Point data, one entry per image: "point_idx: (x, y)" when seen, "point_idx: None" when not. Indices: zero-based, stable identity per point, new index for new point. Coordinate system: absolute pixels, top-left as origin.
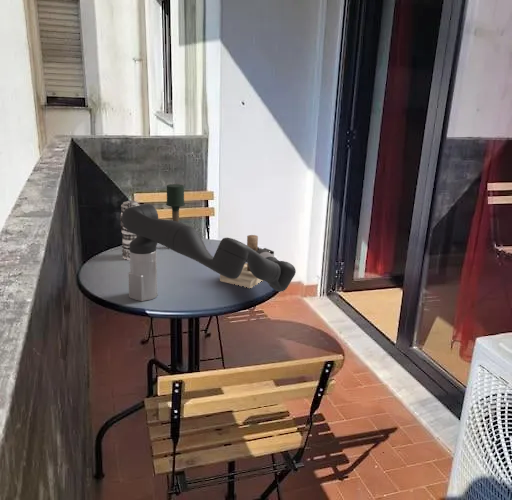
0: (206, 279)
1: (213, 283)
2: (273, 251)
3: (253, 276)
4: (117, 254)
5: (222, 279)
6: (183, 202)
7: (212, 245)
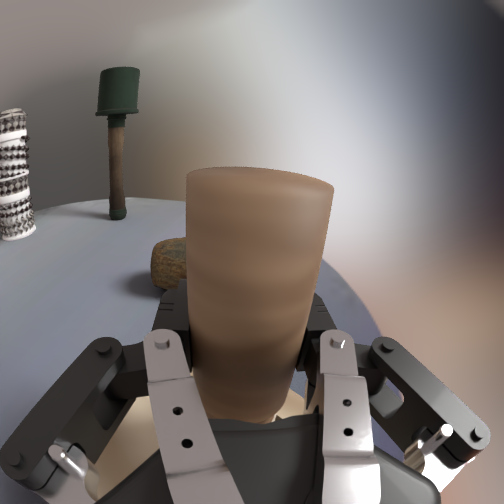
0: (12, 398)
1: None
2: (484, 427)
3: None
4: None
5: None
6: (129, 105)
7: None
